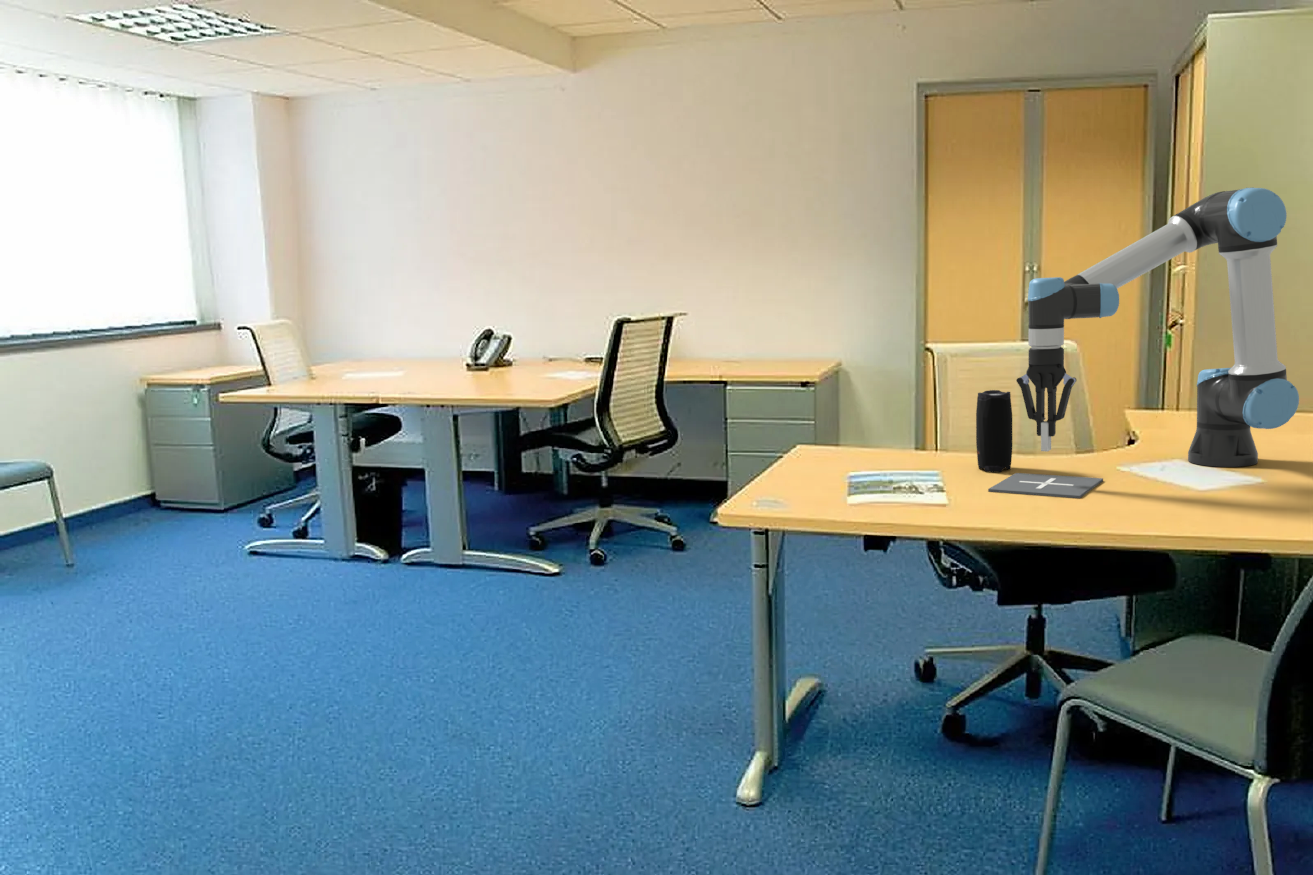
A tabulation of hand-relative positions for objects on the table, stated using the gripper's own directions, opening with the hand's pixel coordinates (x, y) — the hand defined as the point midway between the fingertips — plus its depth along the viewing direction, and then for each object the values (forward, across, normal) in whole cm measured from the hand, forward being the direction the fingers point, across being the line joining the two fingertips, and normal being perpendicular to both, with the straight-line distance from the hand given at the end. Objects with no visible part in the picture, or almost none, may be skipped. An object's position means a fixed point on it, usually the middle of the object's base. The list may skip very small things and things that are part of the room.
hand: (1046, 450), depth 248 cm
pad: (+8, 0, 0) cm, 8 cm away
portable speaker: (+9, +17, -15) cm, 24 cm away
